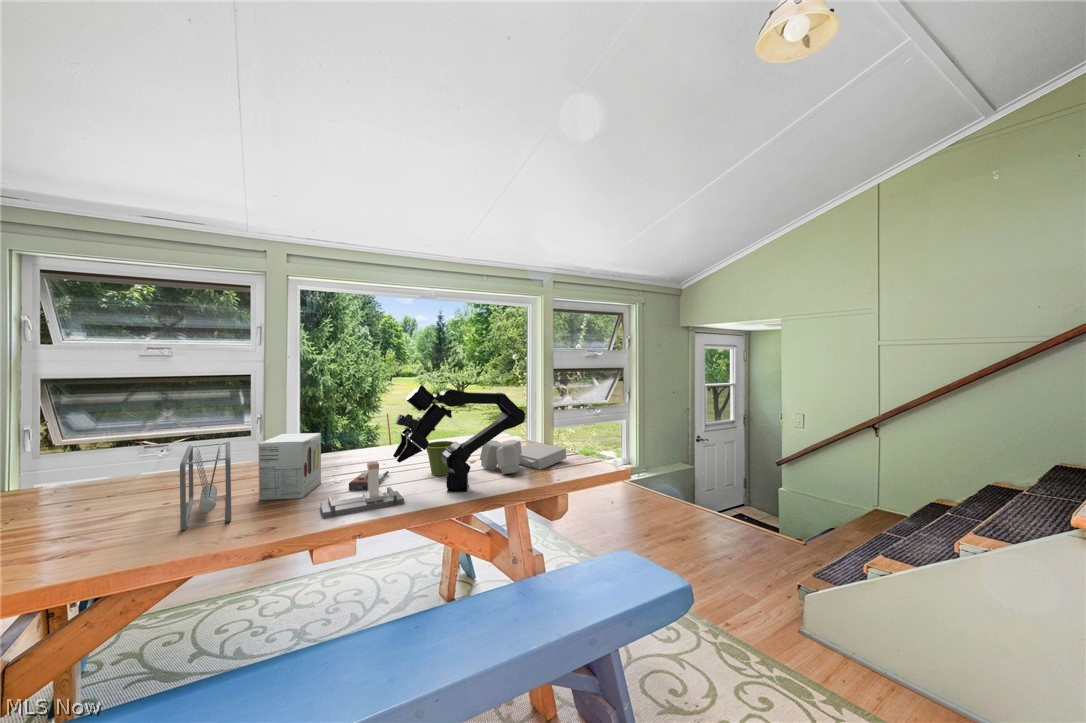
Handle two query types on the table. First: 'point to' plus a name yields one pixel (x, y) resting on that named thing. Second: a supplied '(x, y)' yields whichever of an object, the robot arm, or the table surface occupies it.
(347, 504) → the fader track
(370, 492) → the lever
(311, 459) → the supplement box
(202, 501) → the newton's cradle
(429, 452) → the plant pot
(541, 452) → the game console
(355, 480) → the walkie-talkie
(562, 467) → the table surface
